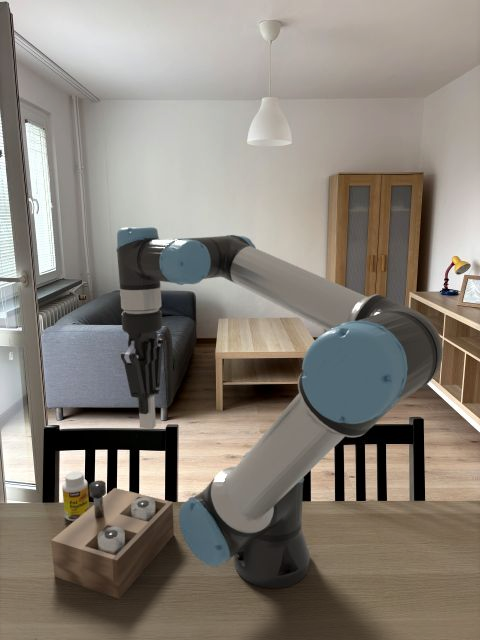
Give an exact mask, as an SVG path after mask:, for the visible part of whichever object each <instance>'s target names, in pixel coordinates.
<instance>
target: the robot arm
mask: <svg viewBox="0 0 480 640" xmlns="http://www.w3.org/2000/svg"><path fill="white" fill-rule="evenodd" d="M116 239H117V241H116V245H117V246H116V255H117V257H116V258H117V268H118V278H119V279H118V280H119V281H118V282H119V289H120V291H119V292H120V293H119V296H120V307H121V309H122V310H123V311H122V313H121V314H120V315H121V326H122V328H121V329H122V331H123V332H124V333H127V334H128V341H127V346H128V347H127V348H128V349H127V350H126V352H122V353H120V359H121V360H122V363H123V364H124V369H125V370H124V371H125V373H126V379H127V384H128V388H129V393H130V396H131V398H137V401H138V413H139V414H138V416H139V428H141V429H142V428H143V429H149V430H153V429H154V428H156V425H157V424H156V406H155V403H156V402H155V395H159V393H160V389H159V388H160V387H161V376H162V357H163V355H162V354H163V349H164V345H165V344H164V343H165V340H164V338H158V332H159V331H160V330H162V328H163V312H162V311H161V309H160V308H161V307H162V306H163V305H162V291H161V282H163V283H170V284H171V283H172V284H176V285H180V286H182V285H196V284H199V283H200V282H201V281H203V280H205V279H212V278H224V279H226V280H227V281H229V282H232V283H233V284H236V285H239V286H240V287H242V288H245V289H246V290H248V291H250V292H252V293H254V294H255V295H258V296H260V297H261V298H263V299H265V300H267V301H269V302H271V303H273V304H275V305H277V306H279V307H281V308H283V309H285V310H287V311H289V312H290V313H293V314H294V315H296V316H297V317H298V316H299V317H300V318H303V319H304V320H306V321H308V322H309V323H312V324H314V325H316V326H318V327H320V328H322V329H324V330H326V332H324V333H322V334H321V335H320V336H318V337H317V338H316V339H315V340H314V341H313V342H312V343H311V345H310V346H309V347H308V349H307V351H306V353H305V356H304V357H303V362H302V365H301V366H302V367H301V370H302V372H301V373H300V375H299V377H298V380H297V389H298V394H296V396H295V397H294V398H293V400H291V402H290V403H289V404H288V405H287V406H286V408H285V409H283V411H282V412H281V414H280V415H279V416H278V417H277V418H276V420H274V422H272V424H271V425H270V427H269V428H268V429H267V430H265V432H264V433H263V434H262V436H261V437H260V438H259V439H258V440H257V442H256V443H255V444H254V445H253V446H252V448H251V449H250V450H249V451H247V452H246V453H245V454H244V455H243V456H242V459H241V460H240V461H239V463H238V464H236V466H231V467H226V468H224V469H222V470H220V471H219V472H218V473H217V474H216V476H215V477H214V478H213V479H212V480H211V482H210V483H209V484H208V485H207V486H206V487H205V488H204V489H203V490H202V491H200V493H198V494H196V495H194V496H191V497H189V498H188V499H187V500H186V501H185V502H183V503H182V504H181V506H180V508H179V511H178V523H179V528H180V532H181V534H182V537H183V539H184V541H185V543H186V545H187V547H188V549H189V550H190V551H191V553H192V554H193V555H194V556H195V558H196V559H198V560H199V561H200V562H202V563H203V564H204V565H206V566H209V567H219V566H221V565H222V564H224V563H228V562H229V561H230V560H231V559H232V558H233V563H234V567H235V570H236V572H237V573H238V574H239V576H240V577H241V578H242V579H244V580H245V581H247V582H248V583H250V584H252V585H254V586H257V587H261V588H267V589H282V588H287V587H290V586H293V585H295V584H297V583H299V582H301V580H302V579H304V578H305V576H306V575H307V574H308V572H309V569H310V551H309V550H310V549H309V547H308V543H307V542H306V538H305V534H304V532H303V530H302V520H303V495H304V494H303V493H304V492H303V491H304V490H303V489H304V481H305V478H304V477H305V476H306V475H307V474H308V473H309V472H310V471H312V469H314V467H315V466H317V465H318V464H319V462H321V460H322V459H324V457H326V456H327V455H328V454H329V453H330V452H331V451H332V450H333V449H334V448H335V447H336V446H337V445H338V444H339V443H340V442H341V441H342V440H343V439H344V438H345V437H346V438H357V437H358V438H359V437H361V436H363V435H365V434H367V432H368V431H369V430H371V429H372V427H374V426H375V424H377V423H378V422H379V421H380V420H382V418H383V417H384V416H386V415H387V414H388V413H389V412H390V411H391V409H393V408H394V407H395V406H397V405H398V404H399V403H400V402H401V401H403V400H404V399H405V398H407V397H409V396H410V395H412V394H413V393H415V392H416V391H418V390H420V389H422V388H423V387H425V386H426V385H429V383H430V382H431V381H432V380H433V379H434V378H435V376H436V375H437V374H438V372H439V370H440V368H441V364H442V361H443V356H444V348H443V347H444V346H443V343H442V337H441V335H440V334H439V331H438V330H437V328H436V327H435V325H434V324H433V322H431V320H429V319H428V318H427V316H425V315H424V314H422V313H420V312H419V311H417V310H415V309H413V308H411V307H409V306H407V305H404V304H402V303H400V302H398V301H395V300H392V299H390V298H388V297H386V296H383V295H382V294H378V293H375V294H373V295H370V296H369V295H368V296H366V295H364V294H362V293H359V292H357V291H355V290H352V289H350V288H348V287H345V286H344V285H341V284H339V283H337V282H334V281H332V280H329V279H328V278H324V277H322V276H320V275H318V274H316V273H313V272H311V271H308V270H306V269H305V268H301V267H299V266H297V265H295V264H292V263H290V262H288V261H285V260H283V259H281V258H280V257H276V256H274V255H272V254H270V253H267V252H265V251H263V250H261V249H258V248H256V245H255V244H254V243H253V242H252V240H251V239H250V238H248V237H247V236H245V235H235V234H228V235H220V236H208V237H205V236H204V237H203V236H202V237H187V238H160V237H159V232H158V229H157V228H155V227H153V226H136V227H135V226H134V227H133V226H132V227H122V228H119V229H118V231H117V233H116Z"/></svg>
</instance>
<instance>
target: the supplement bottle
mask: <svg viewBox="0 0 480 640" xmlns="http://www.w3.org/2000/svg"><path fill="white" fill-rule="evenodd" d="M64 477H65V482H63V484H62V490H61V491H62V500H63V501H62V503H63V514H64V518H65V519H66V520H68V521H70V522H74V521H75V520H76V519H78V518H79V517H80V516H81V515H82V514H84V513H85V512H86V511H87V510H88V509H90V501H89V497H90V496H89V483H88V481H87V480H86V479H85V478H84V477H85V476H84V473H83V472H82V471H80V470H75V471H70V472H68V473H67V474H65V476H64Z"/></svg>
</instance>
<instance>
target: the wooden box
mask: <svg viewBox="0 0 480 640" xmlns="http://www.w3.org/2000/svg"><path fill="white" fill-rule="evenodd" d="M139 498H151V499H153V500H154V501H155V511H156V515H155V516H154V517H153V518H152V519H151V520H150V521H149V522H147V521H143V520H140V519H136V518H132V516H131V504H132V502H133V501H135V500H136V499H139ZM103 507H104V516H103V517H102V518H96V517H95V510H94V504H93V505H92V506H91V507H89V509H88V510H87V511H86V512H85V513H84V514H82V515H81V516H80V517H79V518H78V519H76V520H75V521H72V523H70V524H69V525H68V526H67V527H65V528H64V529H63V530H62V531H61V532H59V533H58V534H57V535H56V536H54V537H53V538H52V539H51V540H50V541H51V552H52V553H51V554H52V562H53V563H52V564H53V565H52V566H53V575H54V578H58V579H60V580H63V581H66V582H68V583H72V584H75V585H78V586H80V587H83V588H86V589H90V590H93V591H95V592H98V593H101V594H103V595H106V596H107V595H108V596H111V597H113V598H116V599H121V598H122V596H124V594H125V593H126V592H127V590H129V588H130V587H131V586H132V585H133V583H134V582H135V581H136V580H137V579H138V578H139V577H140V576H141V574H142V573H143V572H144V571H145V569H147V568H148V566H149V565H150V564H151V563H152V562H153V560H154V559H155V558H156V557H157V556H158V554H159V553H160V552H161V551H162V550H163V548H165V547H166V545H167V544H168V543H169V542H170V540H171V539H172V538H173V536H174V535H175V534H174V532H175V531H174V530H175V529H174V527H175V526H174V502H173V501H169V500H166V499H161V498H158V497H153V496H149V495H147V494H141V493H137V492H133V491H130V490H129V491H128V490H124V489H120V488H117V487H114V488H113V489H112V490H110V491H109V492H108V493H106V494H105V495H104V496H103ZM108 527H120V528H122V529H123V530H124V532H125V547H124V548H123V549H122V550H121V551H120V552H119V553H118V554H117V555H116V556H115V555H112V554H109V553H106V552H102V551H99V550H98V534H99V532H100V531H102V530H103V529H105V528H108Z"/></svg>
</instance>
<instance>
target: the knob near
mask: <svg viewBox="0 0 480 640" xmlns="http://www.w3.org/2000/svg"><path fill="white" fill-rule="evenodd" d="M124 547H125V532H124V530H123V529H122V528H120V527H108V528H105V529H103V530H102V531H100V532H99V534H98V550H99V551H102V552H106V553H109V554H112V555H115V556H116V555H117V554H118V553H119V552H120V551H121V550H122V549H123V548H124Z"/></svg>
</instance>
